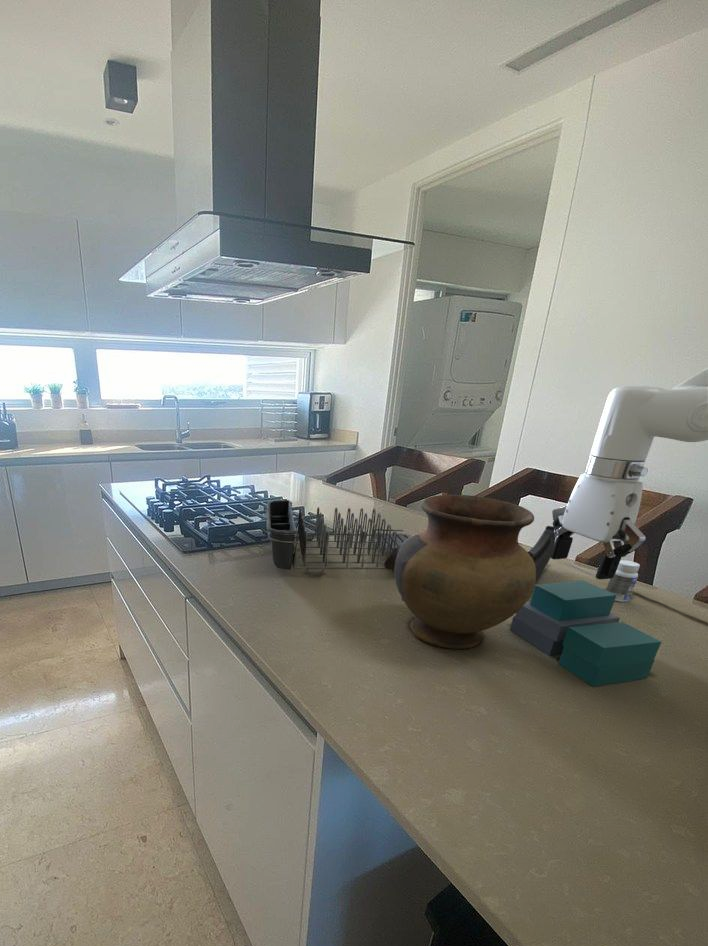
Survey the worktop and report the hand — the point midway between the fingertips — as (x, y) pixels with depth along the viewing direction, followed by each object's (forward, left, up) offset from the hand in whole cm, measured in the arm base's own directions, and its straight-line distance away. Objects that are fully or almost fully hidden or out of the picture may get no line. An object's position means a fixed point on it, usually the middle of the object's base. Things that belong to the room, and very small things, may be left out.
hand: (580, 567), depth 86 cm
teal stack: (+2, +11, -14) cm, 18 cm away
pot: (+21, -6, -14) cm, 26 cm away
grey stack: (0, 0, -14) cm, 14 cm away
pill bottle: (-28, -13, -14) cm, 34 cm away
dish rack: (+21, -50, -14) cm, 56 cm away
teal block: (0, 0, -8) cm, 8 cm away
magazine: (-16, -26, -14) cm, 34 cm away
